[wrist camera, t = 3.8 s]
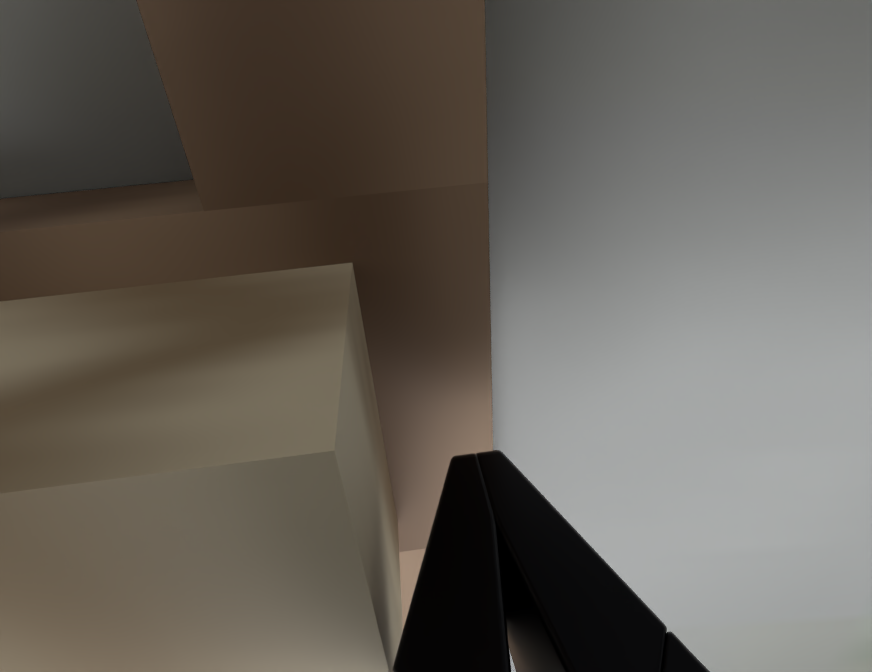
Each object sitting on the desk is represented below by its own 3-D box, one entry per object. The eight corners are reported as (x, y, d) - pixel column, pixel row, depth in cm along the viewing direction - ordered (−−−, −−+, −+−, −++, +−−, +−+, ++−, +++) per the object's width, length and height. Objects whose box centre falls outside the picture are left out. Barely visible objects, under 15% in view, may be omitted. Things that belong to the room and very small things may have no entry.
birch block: (351, 262, 8) (335, 451, 4) (397, 522, 11) (407, 749, 7) (-61, 307, 7) (-434, 549, 4) (110, 561, 11) (-16, 816, 7)
